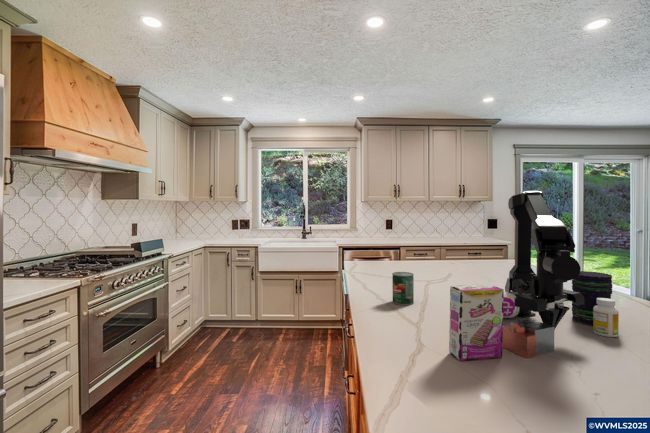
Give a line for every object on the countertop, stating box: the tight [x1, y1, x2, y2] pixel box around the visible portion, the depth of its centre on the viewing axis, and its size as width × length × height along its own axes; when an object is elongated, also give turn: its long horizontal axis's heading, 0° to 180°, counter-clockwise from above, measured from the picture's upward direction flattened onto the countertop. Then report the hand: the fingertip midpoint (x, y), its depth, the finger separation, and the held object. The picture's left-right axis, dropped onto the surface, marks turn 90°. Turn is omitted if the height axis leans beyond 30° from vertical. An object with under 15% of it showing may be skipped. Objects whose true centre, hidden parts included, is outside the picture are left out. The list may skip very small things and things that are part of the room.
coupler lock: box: [510, 318, 555, 356], centre depth 83 cm, size 7×6×6 cm
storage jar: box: [571, 270, 613, 327], centre depth 103 cm, size 10×10×15 cm
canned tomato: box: [391, 271, 415, 306], centre depth 126 cm, size 8×8×11 cm
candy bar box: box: [448, 284, 505, 362], centre depth 78 cm, size 11×5×16 cm, turn 100°
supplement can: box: [503, 291, 519, 319], centre depth 108 cm, size 8×8×15 cm
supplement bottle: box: [592, 298, 620, 338], centre depth 93 cm, size 5×5×10 cm
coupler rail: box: [502, 323, 537, 359], centre depth 83 cm, size 13×7×7 cm, turn 112°
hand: (549, 333), depth 86 cm, fingers closed
